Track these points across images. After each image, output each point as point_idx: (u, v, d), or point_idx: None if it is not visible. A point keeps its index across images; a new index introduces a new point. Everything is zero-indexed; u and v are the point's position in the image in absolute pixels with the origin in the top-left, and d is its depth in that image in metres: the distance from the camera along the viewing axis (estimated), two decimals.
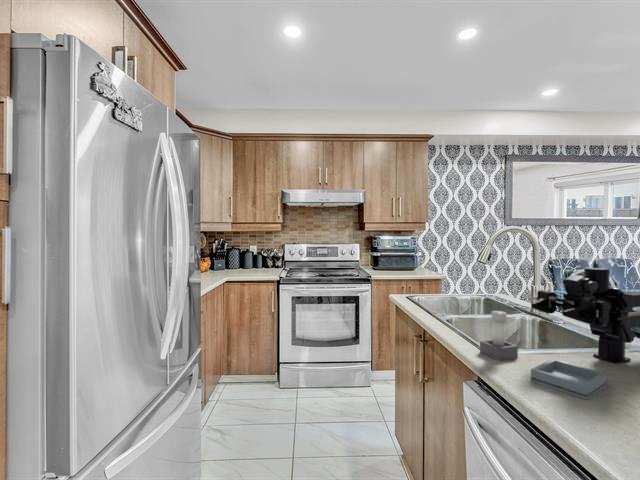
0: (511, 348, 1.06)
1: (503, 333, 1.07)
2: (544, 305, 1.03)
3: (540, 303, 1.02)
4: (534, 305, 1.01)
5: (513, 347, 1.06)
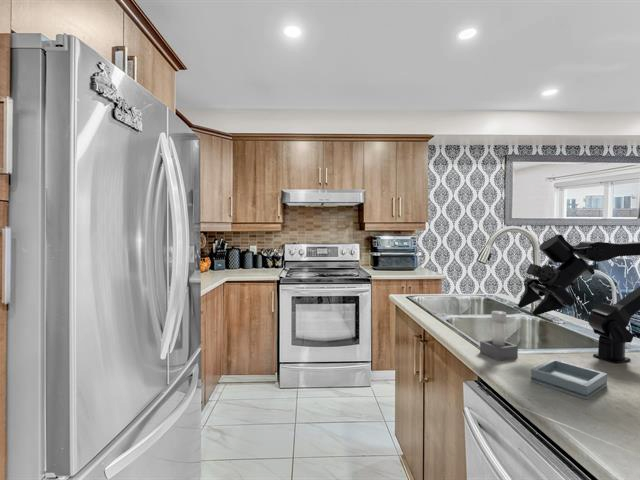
0: (511, 348, 1.06)
1: (503, 333, 1.07)
2: (530, 296, 1.12)
3: (524, 299, 1.12)
4: (519, 305, 1.12)
5: (513, 347, 1.06)
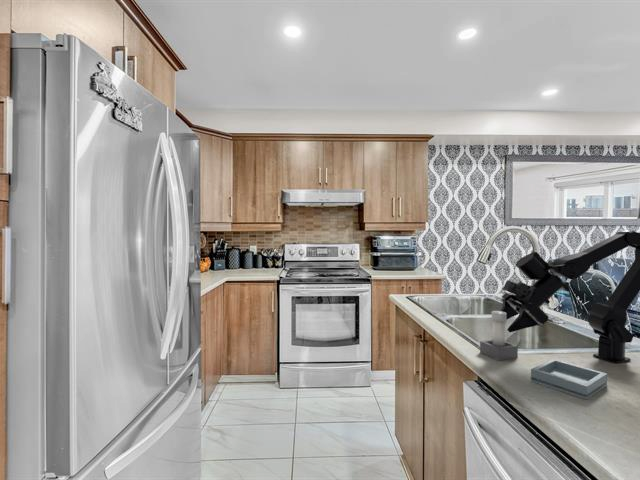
0: (511, 348, 1.06)
1: (503, 333, 1.07)
2: (508, 312, 1.13)
3: None
4: None
5: (513, 347, 1.06)
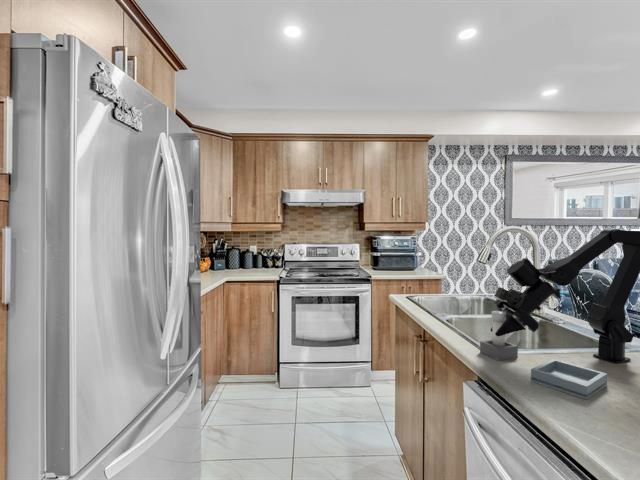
0: (511, 348, 1.06)
1: None
2: None
3: None
4: None
5: (513, 347, 1.06)
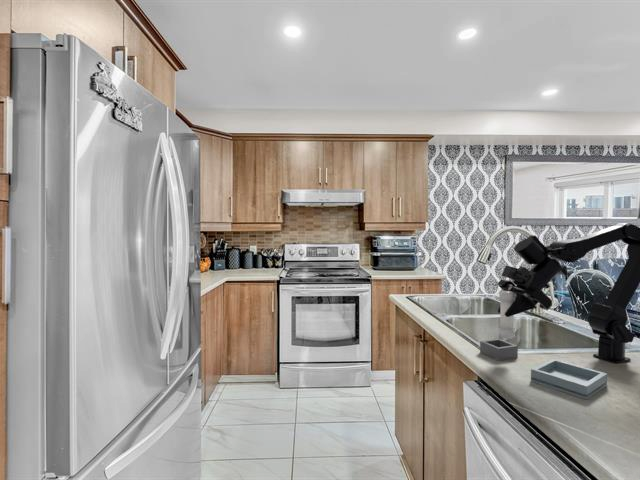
0: (511, 348, 1.06)
1: None
2: None
3: None
4: None
5: (513, 347, 1.06)
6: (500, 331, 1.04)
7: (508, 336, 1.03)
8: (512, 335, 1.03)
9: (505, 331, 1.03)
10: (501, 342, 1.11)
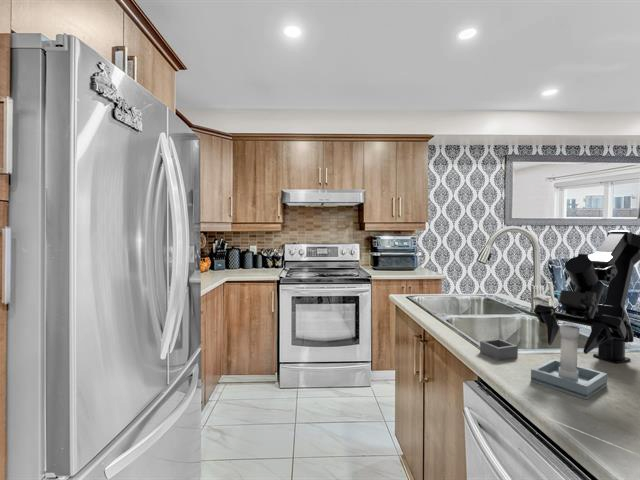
0: (511, 348, 1.06)
1: None
2: (554, 329, 0.93)
3: (552, 333, 0.92)
4: (550, 342, 0.91)
5: (513, 347, 1.06)
6: (565, 375, 0.88)
7: (576, 380, 0.87)
8: (577, 377, 0.88)
9: (573, 374, 0.87)
10: (501, 342, 1.11)
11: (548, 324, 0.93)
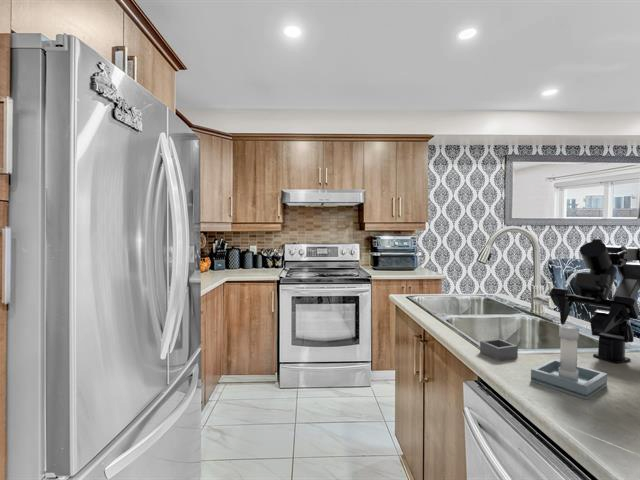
0: (511, 348, 1.06)
1: (576, 352, 0.88)
2: (566, 310, 0.99)
3: (564, 313, 0.98)
4: (563, 321, 0.97)
5: (513, 347, 1.06)
6: (565, 375, 0.88)
7: (576, 380, 0.87)
8: (577, 377, 0.88)
9: (573, 375, 0.87)
10: (501, 342, 1.11)
11: (560, 305, 0.99)
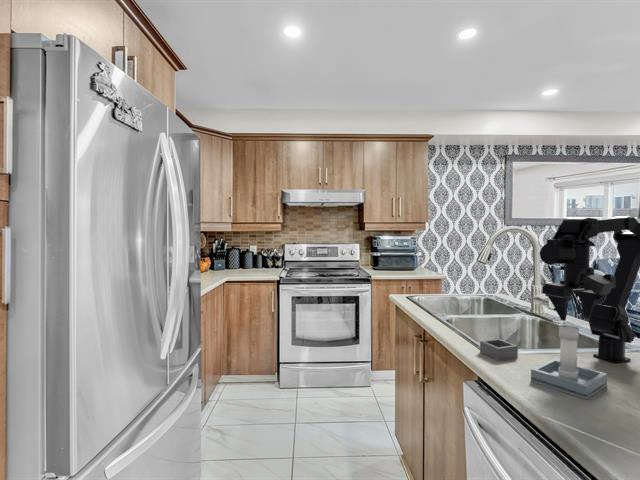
0: (511, 348, 1.06)
1: (576, 352, 0.88)
2: None
3: None
4: None
5: (513, 347, 1.06)
6: (565, 375, 0.88)
7: (576, 380, 0.87)
8: (577, 377, 0.88)
9: (573, 375, 0.87)
10: (501, 342, 1.11)
11: (565, 304, 0.97)
